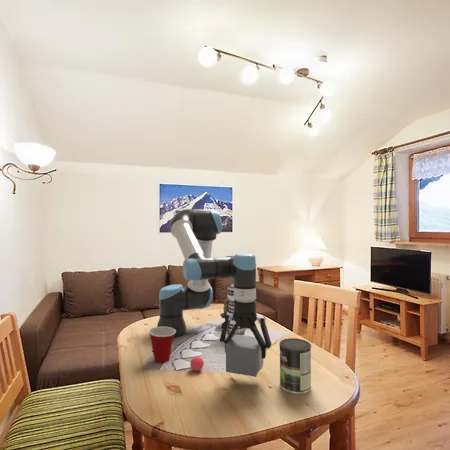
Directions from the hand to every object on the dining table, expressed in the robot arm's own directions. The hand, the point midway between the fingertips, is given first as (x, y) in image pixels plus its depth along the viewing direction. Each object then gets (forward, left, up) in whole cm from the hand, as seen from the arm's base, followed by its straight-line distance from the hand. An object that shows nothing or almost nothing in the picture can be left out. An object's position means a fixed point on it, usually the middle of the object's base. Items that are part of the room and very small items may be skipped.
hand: (245, 364), depth 106 cm
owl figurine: (-58, -22, -7) cm, 62 cm away
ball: (-4, -20, -4) cm, 20 cm away
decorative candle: (-42, -17, -6) cm, 45 cm away
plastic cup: (-8, -37, -6) cm, 38 cm away
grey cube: (0, 0, -1) cm, 1 cm away
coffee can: (-4, +16, -6) cm, 18 cm away
